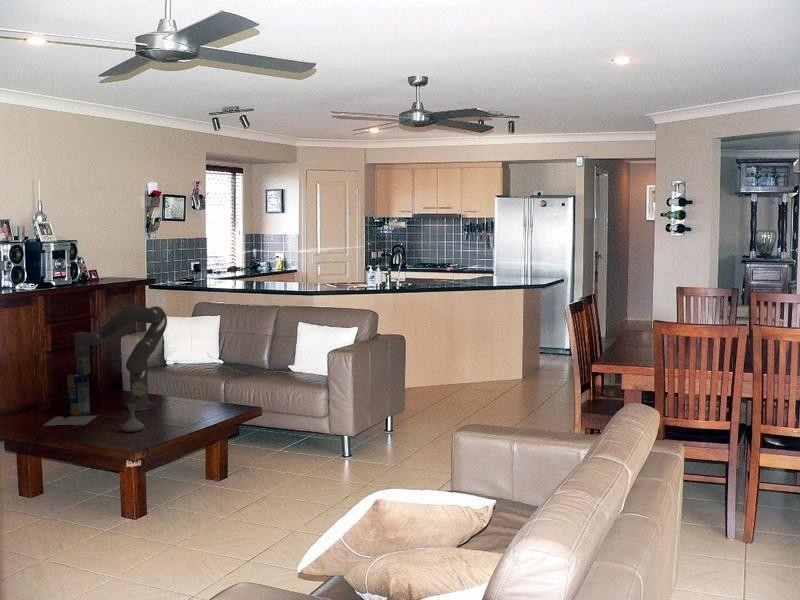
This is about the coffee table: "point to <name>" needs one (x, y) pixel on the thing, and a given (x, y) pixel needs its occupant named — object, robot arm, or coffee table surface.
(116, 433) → the coffee table surface
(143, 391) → the flower in vase
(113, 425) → the coffee table surface
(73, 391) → the beverage box
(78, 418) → the mat
